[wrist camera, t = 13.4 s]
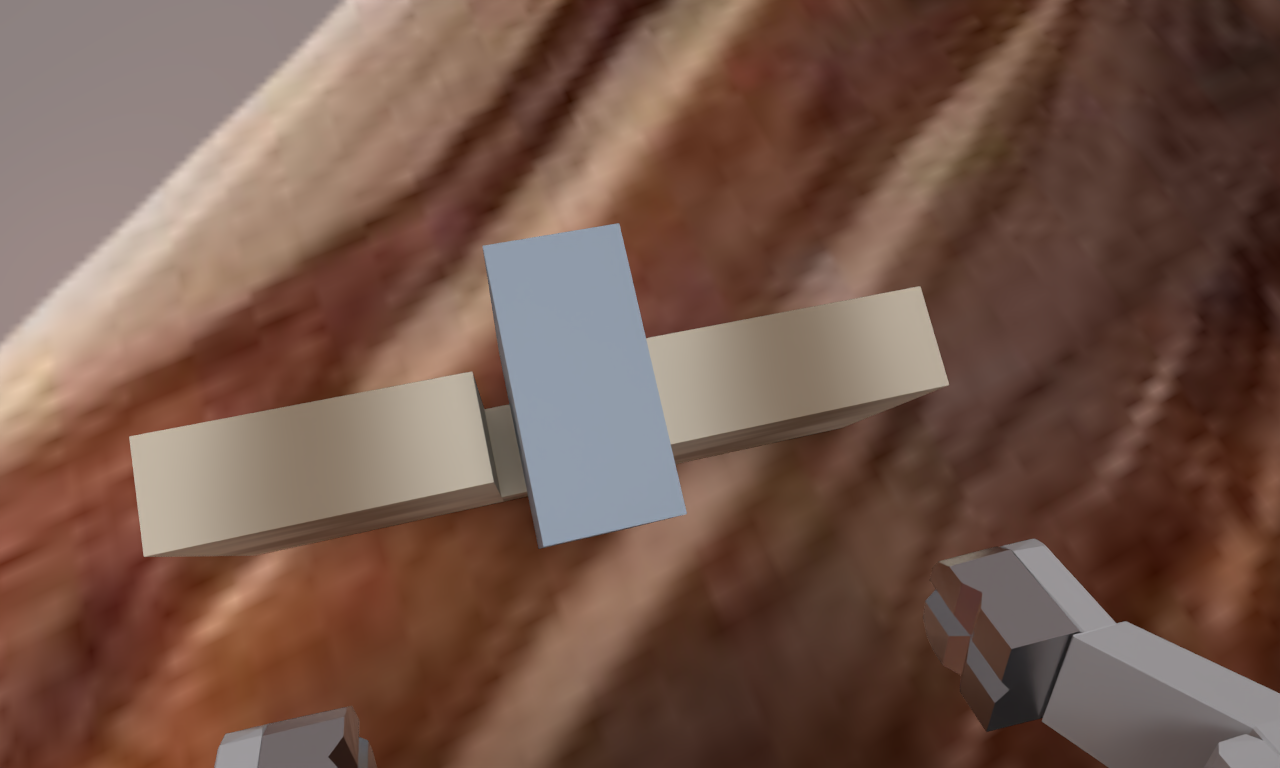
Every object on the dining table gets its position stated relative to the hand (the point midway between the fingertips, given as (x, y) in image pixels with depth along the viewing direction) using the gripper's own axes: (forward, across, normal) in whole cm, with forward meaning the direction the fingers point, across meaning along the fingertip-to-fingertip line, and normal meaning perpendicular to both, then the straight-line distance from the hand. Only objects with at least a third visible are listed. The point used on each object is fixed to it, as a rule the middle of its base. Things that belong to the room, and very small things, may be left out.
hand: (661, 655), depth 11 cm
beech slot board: (+13, 0, +6) cm, 14 cm away
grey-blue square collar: (+11, 0, +5) cm, 12 cm away
